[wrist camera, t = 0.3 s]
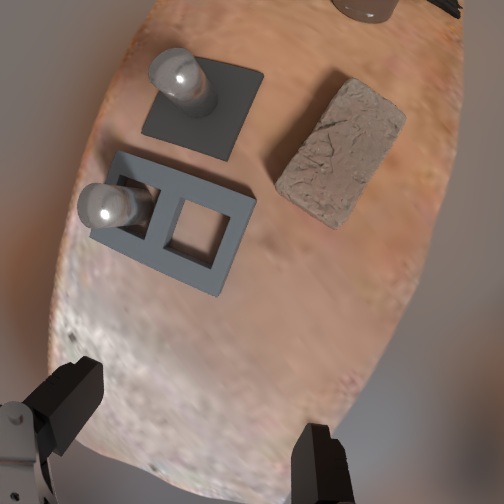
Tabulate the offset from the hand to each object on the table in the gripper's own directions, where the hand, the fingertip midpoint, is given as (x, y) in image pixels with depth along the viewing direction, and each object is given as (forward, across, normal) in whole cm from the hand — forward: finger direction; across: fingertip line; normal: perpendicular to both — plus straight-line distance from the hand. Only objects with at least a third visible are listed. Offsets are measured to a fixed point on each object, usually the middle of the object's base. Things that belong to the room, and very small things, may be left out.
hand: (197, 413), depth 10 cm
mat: (+29, +11, -16) cm, 35 cm away
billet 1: (+28, +16, -2) cm, 32 cm away
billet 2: (+28, +11, -16) cm, 34 cm away
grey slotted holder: (+27, +11, -1) cm, 30 cm away
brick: (+28, -7, -14) cm, 32 cm away
